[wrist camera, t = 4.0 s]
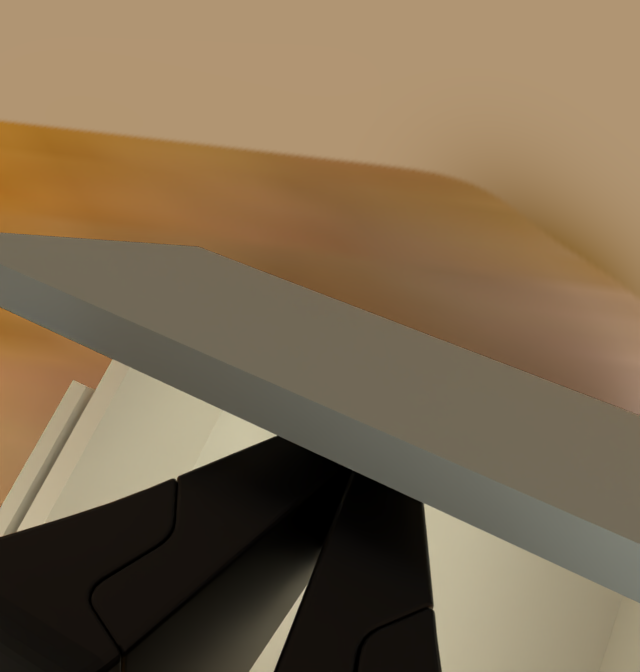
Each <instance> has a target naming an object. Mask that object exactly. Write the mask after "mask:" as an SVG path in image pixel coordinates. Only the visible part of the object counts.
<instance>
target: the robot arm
mask: <svg viewBox="0 0 640 672" xmlns="http://www.w3.org/2000/svg"><path fill="white" fill-rule="evenodd" d="M306 586H307V587H306ZM305 587H306V590H305V592H304V595H303V597H302V600H301V602H300V605H299V608H298V610H297V613H296V615H295V618H294V620H293V623H292V626H291V628H290V631H289V633H288V636H287V638H286V641H285V644H284V646H283V649H282V651H281V654H280V656H279V659H278V662H277V664H276V667H275V669H274V672H442V668H441V660H440V653H439V646H438V638H437V628H436V617H435V611H434V610H433V608H434V600H433V590H432V580H431V570H430V559H429V549H428V539H427V529H426V518H425V508H424V503H422V502H420V501H418V500H416V499H414V498H411V497H409V496H407V495H405V494H403V493H401V492H399V491H396V490H394V489H392V488H390V487H388V486H386V485H383V484H381V483H379V482H377V481H375V480H373V479H370V478H368V477H366V476H364V475H362V474H360V473H357V472H355V471H353V470H351V469H349V468H347V467H345V466H342V465H340V464H338V463H336V462H334V461H332V460H329V459H327V458H325V457H323V456H321V455H319V454H316V453H314V452H312V451H310V450H308V449H306V448H304V447H301V446H299V445H297V444H295V443H293V442H291V441H288V440H286V439H284V438H282V437H280V436H278V435H277V436H274V437H272V438H269V439H267V440H264V441H262V442H260V443H257V444H255V445H252V446H250V447H247V448H245V449H243V450H240V451H238V452H235V453H233V454H230V455H228V456H226V457H223V458H221V459H218V460H216V461H213V462H211V463H209V464H206V465H204V466H201V467H199V468H196V469H194V470H192V471H189V472H187V473H184V474H182V475H179V476H178V477H177V480H176V479H175V478H172V479H169V480H167V481H164V482H162V483H159V484H157V485H155V486H152V487H150V488H147V489H145V490H142V491H139V492H137V493H134V494H131V495H129V496H126V497H124V498H121V499H118V500H116V501H113V502H110V503H107V504H104V505H101V506H98V507H95V508H92V509H89V510H86V511H83V512H80V513H77V514H74V515H71V516H68V517H64V518H61V519H58V520H54V521H51V522H48V523H45V524H41V525H38V526H35V527H31V528H28V529H25V530H21V531H18V532H15V533H12V534H8V535H5V536H2V537H0V672H249V671H250V669H251V668H252V666H253V665H254V663H255V662H256V660H257V659H258V657H259V656H260V654H261V653H262V651H263V650H264V648H265V647H266V645H267V644H268V642H269V641H270V639H271V638H272V636H273V635H274V633H275V632H276V630H277V629H278V628H279V626H280V625H281V623H282V622H283V620H284V619H285V617H286V616H287V614H288V613H289V611H290V610H291V608H292V607H293V605H294V604H295V602H296V601H297V599H298V598H299V596H300V595H301V593H302V592H303V590H304V589H305Z"/></svg>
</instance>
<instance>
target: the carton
mask: <svg viewBox="0 0 640 672" xmlns="http://www.w3.org/2000/svg"><path fill="white" fill-rule="evenodd" d="M274 436H277V435H275V434H273V433H271V432H269V431H267V430H265V429H262V428H260V427H258V426H256V425H254V424H252V423H250V422H247V421H245V420H243V419H241V418H239V417H237V416H234V415H232V414H230V413H228V412H226V411H224V410H221V409H219V408H217V407H215V406H213V405H211V404H208V403H206V402H204V401H202V400H200V399H198V398H196V397H193V396H191V395H189V394H187V393H185V392H183V391H180V390H178V389H176V388H174V387H172V386H170V385H167V384H165V383H163V382H161V381H159V380H157V379H154V378H152V377H150V376H148V375H146V374H144V373H142V372H139V371H137V370H135V369H133V368H131V367H129V366H126V365H124V364H122V363H120V362H118V361H116V360H113V359H112V361H111V363H110V365H109V367H108V368H107V370H106V372H105V374H104V376H103V377H102V379H101V381H100V383H99V384H98V386H97V388H96V390H95V389H93V388H90V387H88V386H86V385H84V384H81V383H79V382H77V381H75V380H73V381H72V383H71V384H70V386H69V388H68V390H67V391H66V393H65V395H64V397H63V398H62V400H61V402H60V404H59V405H58V407H57V409H56V411H55V412H54V414H53V416H52V418H51V419H50V421H49V423H48V425H47V427H46V428H45V430H44V432H43V434H42V435H41V437H40V439H39V441H38V442H37V444H36V446H35V448H34V449H33V451H32V453H31V455H30V456H29V458H28V460H27V462H26V463H25V465H24V467H23V469H22V470H21V472H20V474H19V476H18V477H17V479H16V481H15V483H14V485H13V486H12V488H11V490H10V492H9V493H8V495H7V497H6V499H5V500H4V502H3V504H2V506H1V507H0V537H2V536H5V535H8V534H12V533H15V532H18V531H21V530H25V529H28V528H31V527H35V526H38V525H41V524H45V523H48V522H51V521H54V520H58V519H61V518H64V517H68V516H71V515H74V514H77V513H80V512H83V511H86V510H89V509H92V508H95V507H98V506H101V505H104V504H107V503H110V502H113V501H116V500H118V499H121V498H124V497H126V496H129V495H131V494H134V493H137V492H139V491H142V490H145V489H147V488H150V487H152V486H155V485H157V484H159V483H162V482H164V481H167V480H169V479H172V478H175V479H176V480H177V477H178V476H179V475H182V474H184V473H187V472H189V471H192V470H194V469H196V468H199V467H201V466H204V465H206V464H209V463H211V462H213V461H216V460H218V459H221V458H223V457H226V456H228V455H230V454H233V453H235V452H238V451H240V450H243V449H245V448H247V447H250V446H252V445H255V444H257V443H260V442H262V441H264V440H267V439H269V438H272V437H274ZM424 508H425V518H426V529H427V539H428V549H429V559H430V570H431V580H432V590H433V600H434V608H433V610H434V611H435V617H436V628H437V638H438V646H439V653H440V660H441V668H442V672H640V603H638V602H636V601H634V600H632V599H630V598H627V597H625V596H623V595H621V594H619V593H617V592H614V591H612V590H610V589H608V588H606V587H604V586H602V585H599V584H597V583H595V582H593V581H591V580H589V579H586V578H584V577H582V576H580V575H578V574H576V573H573V572H571V571H569V570H567V569H565V568H563V567H560V566H558V565H556V564H554V563H552V562H550V561H548V560H545V559H543V558H541V557H539V556H537V555H535V554H532V553H530V552H528V551H526V550H524V549H522V548H519V547H517V546H515V545H513V544H511V543H509V542H507V541H504V540H502V539H500V538H498V537H496V536H494V535H491V534H489V533H487V532H485V531H483V530H481V529H478V528H476V527H474V526H472V525H470V524H468V523H465V522H463V521H461V520H459V519H457V518H455V517H453V516H450V515H448V514H446V513H444V512H442V511H440V510H437V509H435V508H433V507H431V506H429V505H427V504H424ZM306 587H307V586H306ZM306 587H305V589H304V590H303V592H302V593H301V595H300V596H299V598H298V599H297V601H296V602H295V604H294V605H293V607H292V608H291V610H290V611H289V613H288V614H287V616H286V617H285V619H284V620H283V622H282V623H281V625H280V626H279V628H278V629H277V630H276V632H275V633H274V635H273V636H272V638H271V639H270V641H269V642H268V644H267V645H266V647H265V648H264V650H263V651H262V653H261V654H260V656H259V657H258V659H257V660H256V662H255V663H254V665H253V666H252V668H251V669H250V671H249V672H274V669H275V667H276V664H277V662H278V659H279V656H280V654H281V651H282V649H283V646H284V644H285V641H286V638H287V636H288V633H289V631H290V628H291V626H292V623H293V620H294V618H295V615H296V613H297V610H298V608H299V605H300V602H301V600H302V597H303V595H304V592H305V590H306Z"/></svg>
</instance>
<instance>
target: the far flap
mask: <svg viewBox="0 0 640 672" xmlns="http://www.w3.org/2000/svg"><path fill="white" fill-rule="evenodd" d="M0 307H1V308H3V309H5V310H8V311H10V312H12V313H14V314H16V315H18V316H21V317H23V318H25V319H27V320H29V321H31V322H34V323H36V324H38V325H40V326H42V327H44V328H47V329H49V330H51V331H53V332H55V333H57V334H59V335H62V336H64V337H66V338H68V339H70V340H72V341H75V342H77V343H79V344H81V345H83V346H85V347H88V348H90V349H92V350H94V351H96V352H98V353H101V354H103V355H105V356H107V357H109V358H111V359H113V360H116V361H118V362H120V363H122V364H124V365H126V366H129V367H131V368H133V369H135V370H137V371H139V372H142V373H144V374H146V375H148V376H150V377H152V378H154V379H157V380H159V381H161V382H163V383H165V384H167V385H170V386H172V387H174V388H176V389H178V390H180V391H183V392H185V393H187V394H189V395H191V396H193V397H196V398H198V399H200V400H202V401H204V402H206V403H208V404H211V405H213V406H215V407H217V408H219V409H221V410H224V411H226V412H228V413H230V414H232V415H234V416H237V417H239V418H241V419H243V420H245V421H247V422H250V423H252V424H254V425H256V426H258V427H260V428H262V429H265V430H267V431H269V432H271V433H273V434H275V435H278V436H280V437H282V438H284V439H286V440H288V441H291V442H293V443H295V444H297V445H299V446H301V447H304V448H306V449H308V450H310V451H312V452H314V453H316V454H319V455H321V456H323V457H325V458H327V459H329V460H332V461H334V462H336V463H338V464H340V465H342V466H345V467H347V468H349V469H351V470H353V471H355V472H357V473H360V474H362V475H364V476H366V477H368V478H370V479H373V480H375V481H377V482H379V483H381V484H383V485H386V486H388V487H390V488H392V489H394V490H396V491H399V492H401V493H403V494H405V495H407V496H409V497H411V498H414V499H416V500H418V501H420V502H422V503H424V504H427V505H429V506H431V507H433V508H435V509H437V510H440V511H442V512H444V513H446V514H448V515H450V516H453V517H455V518H457V519H459V520H461V521H463V522H465V523H468V524H470V525H472V526H474V527H476V528H478V529H481V530H483V531H485V532H487V533H489V534H491V535H494V536H496V537H498V538H500V539H502V540H504V541H507V542H509V543H511V544H513V545H515V546H517V547H519V548H522V549H524V550H526V551H528V552H530V553H532V554H535V555H537V556H539V557H541V558H543V559H545V560H548V561H550V562H552V563H554V564H556V565H558V566H560V567H563V568H565V569H567V570H569V571H571V572H573V573H576V574H578V575H580V576H582V577H584V578H586V579H589V580H591V581H593V582H595V583H597V584H599V585H602V586H604V587H606V588H608V589H610V590H612V591H614V592H617V593H619V594H621V595H623V596H625V597H627V598H630V599H632V600H634V601H636V602H638V603H640V415H637V414H634V413H632V412H629V411H627V410H624V409H621V408H619V407H616V406H614V405H611V404H608V403H606V402H603V401H600V400H598V399H595V398H593V397H590V396H587V395H585V394H582V393H580V392H577V391H574V390H572V389H569V388H566V387H564V386H561V385H559V384H556V383H553V382H551V381H548V380H546V379H543V378H540V377H538V376H535V375H533V374H530V373H527V372H525V371H522V370H519V369H517V368H514V367H512V366H509V365H506V364H504V363H501V362H499V361H496V360H493V359H491V358H488V357H485V356H483V355H480V354H478V353H475V352H472V351H470V350H467V349H465V348H462V347H459V346H457V345H454V344H452V343H449V342H446V341H444V340H441V339H438V338H436V337H433V336H431V335H428V334H425V333H423V332H420V331H418V330H415V329H412V328H410V327H407V326H404V325H402V324H399V323H397V322H394V321H391V320H389V319H386V318H384V317H381V316H378V315H376V314H373V313H371V312H368V311H365V310H363V309H360V308H357V307H355V306H352V305H350V304H347V303H344V302H342V301H339V300H337V299H334V298H331V297H329V296H326V295H323V294H321V293H318V292H316V291H313V290H310V289H308V288H305V287H303V286H300V285H297V284H295V283H292V282H290V281H287V280H284V279H282V278H279V277H276V276H274V275H271V274H269V273H266V272H263V271H261V270H258V269H256V268H253V267H250V266H248V265H245V264H242V263H240V262H237V261H235V260H232V259H229V258H227V257H224V256H222V255H219V254H216V253H214V252H211V251H209V250H206V249H203V248H201V247H197V246H182V245H168V244H154V243H140V242H126V241H111V240H97V239H83V238H69V237H55V236H40V235H26V234H12V233H0Z"/></svg>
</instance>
